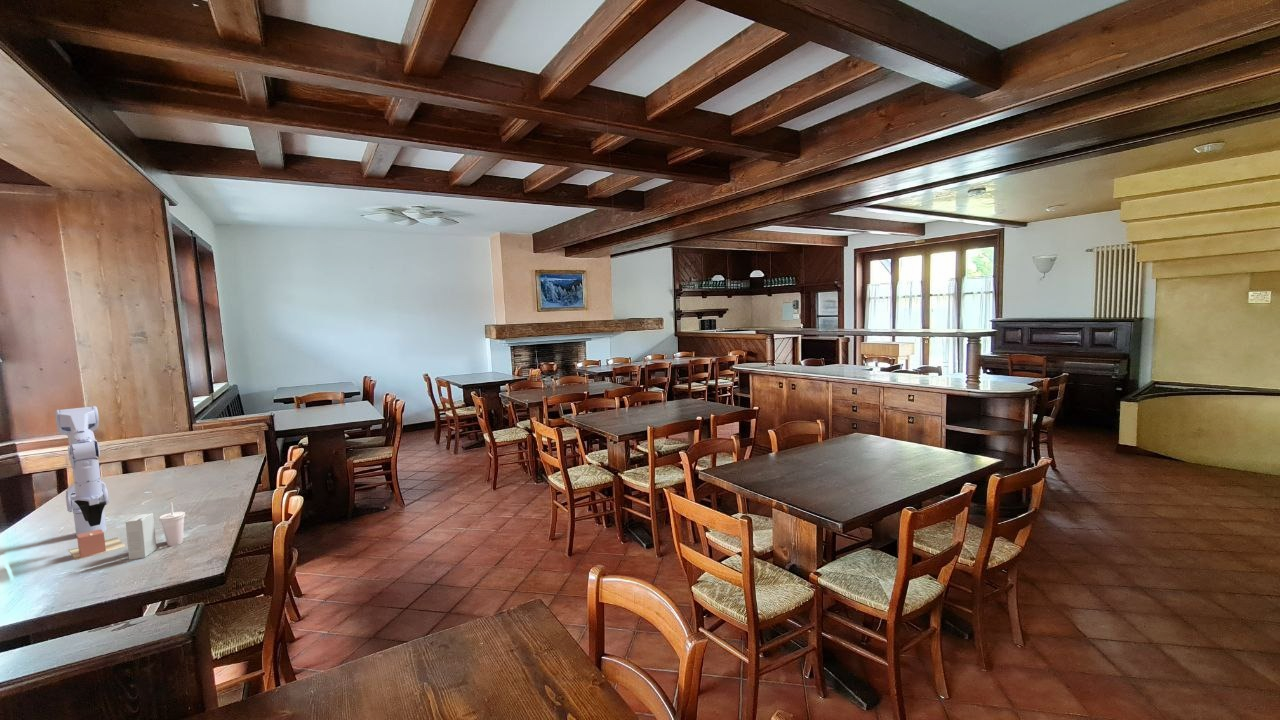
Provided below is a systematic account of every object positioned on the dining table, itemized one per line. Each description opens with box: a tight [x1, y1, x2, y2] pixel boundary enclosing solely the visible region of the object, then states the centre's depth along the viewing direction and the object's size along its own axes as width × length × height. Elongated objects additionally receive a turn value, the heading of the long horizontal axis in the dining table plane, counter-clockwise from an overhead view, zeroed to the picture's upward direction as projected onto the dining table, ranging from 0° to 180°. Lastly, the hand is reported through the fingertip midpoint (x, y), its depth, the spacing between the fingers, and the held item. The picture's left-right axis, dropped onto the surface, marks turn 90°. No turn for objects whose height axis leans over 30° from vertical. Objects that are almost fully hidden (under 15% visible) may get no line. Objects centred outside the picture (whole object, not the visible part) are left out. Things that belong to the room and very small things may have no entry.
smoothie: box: [158, 501, 186, 547], centre depth 169 cm, size 6×6×14 cm
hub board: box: [68, 537, 127, 561], centre depth 166 cm, size 13×11×4 cm
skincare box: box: [125, 512, 158, 560], centre depth 161 cm, size 6×4×12 cm
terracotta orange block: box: [76, 529, 106, 559], centre depth 162 cm, size 5×5×6 cm
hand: (92, 522), depth 163 cm, fingers open, 7 cm apart
